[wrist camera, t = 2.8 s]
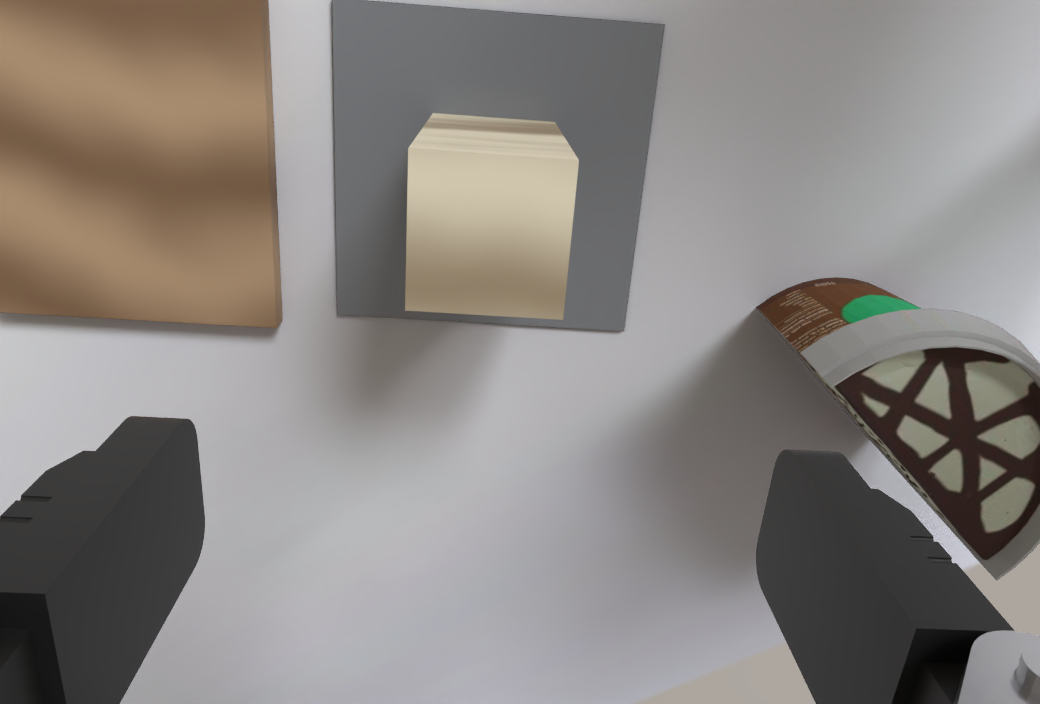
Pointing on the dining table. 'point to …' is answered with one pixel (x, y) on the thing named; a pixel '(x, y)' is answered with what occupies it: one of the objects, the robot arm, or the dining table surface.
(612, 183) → the tile
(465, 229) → the birch block
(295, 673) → the dining table surface
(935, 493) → the food container
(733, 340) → the dining table surface
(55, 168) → the walnut board
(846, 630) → the robot arm
